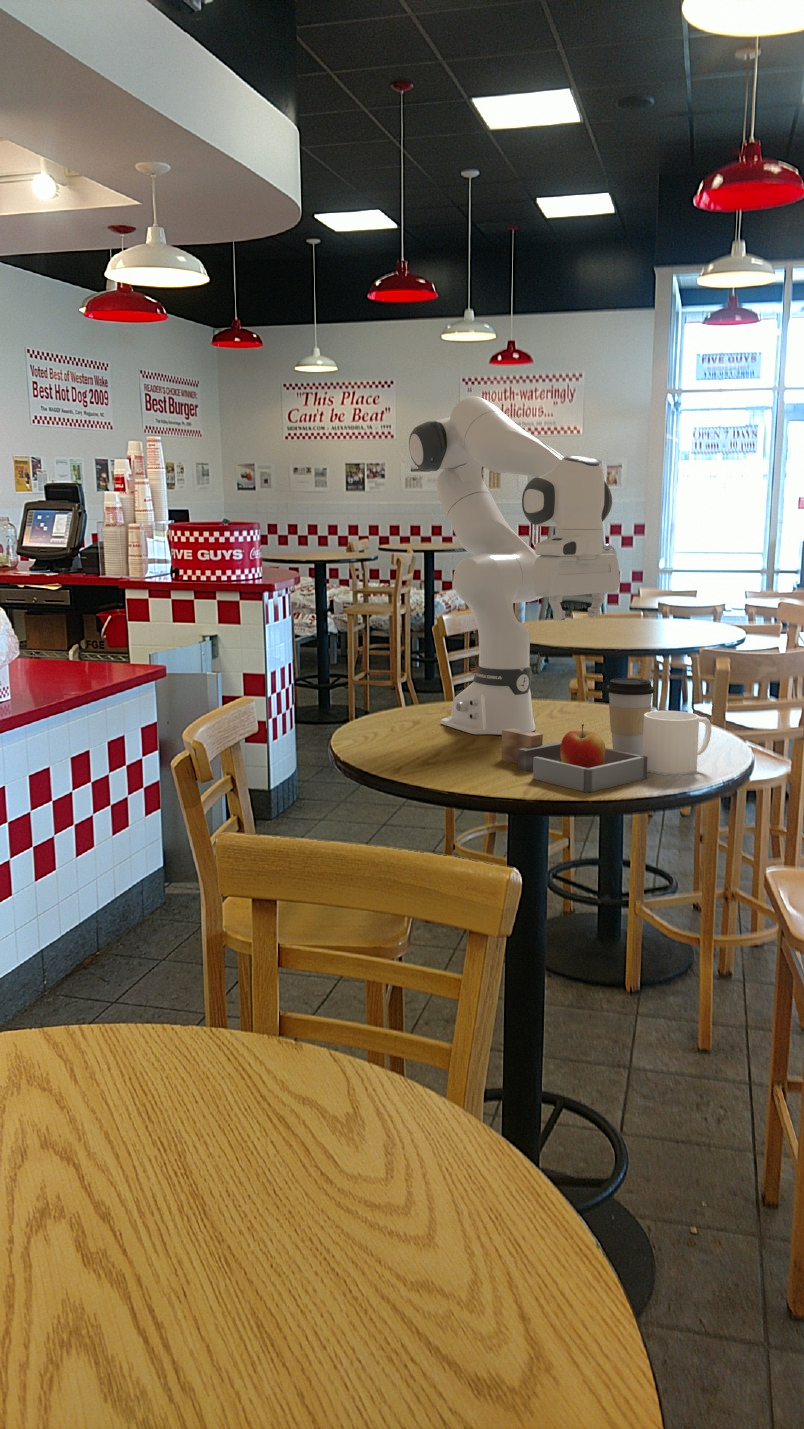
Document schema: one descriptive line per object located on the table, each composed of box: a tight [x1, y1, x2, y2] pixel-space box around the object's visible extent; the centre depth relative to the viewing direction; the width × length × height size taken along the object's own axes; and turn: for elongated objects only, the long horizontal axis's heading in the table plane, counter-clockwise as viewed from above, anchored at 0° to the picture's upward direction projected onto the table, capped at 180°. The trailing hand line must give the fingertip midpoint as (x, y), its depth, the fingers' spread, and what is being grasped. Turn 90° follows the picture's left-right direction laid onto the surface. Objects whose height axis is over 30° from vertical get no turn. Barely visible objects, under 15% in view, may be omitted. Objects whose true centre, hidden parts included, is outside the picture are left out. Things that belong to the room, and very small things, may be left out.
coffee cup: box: [605, 677, 656, 755], centre depth 210 cm, size 9×9×15 cm
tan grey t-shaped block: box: [501, 728, 562, 772], centre depth 205 cm, size 10×10×6 cm
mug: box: [642, 710, 712, 776], centre depth 199 cm, size 13×10×10 cm
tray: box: [532, 747, 648, 794], centre depth 193 cm, size 13×16×4 cm
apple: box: [560, 723, 606, 768], centre depth 194 cm, size 8×8×10 cm
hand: (576, 618), depth 202 cm, fingers open, 8 cm apart
